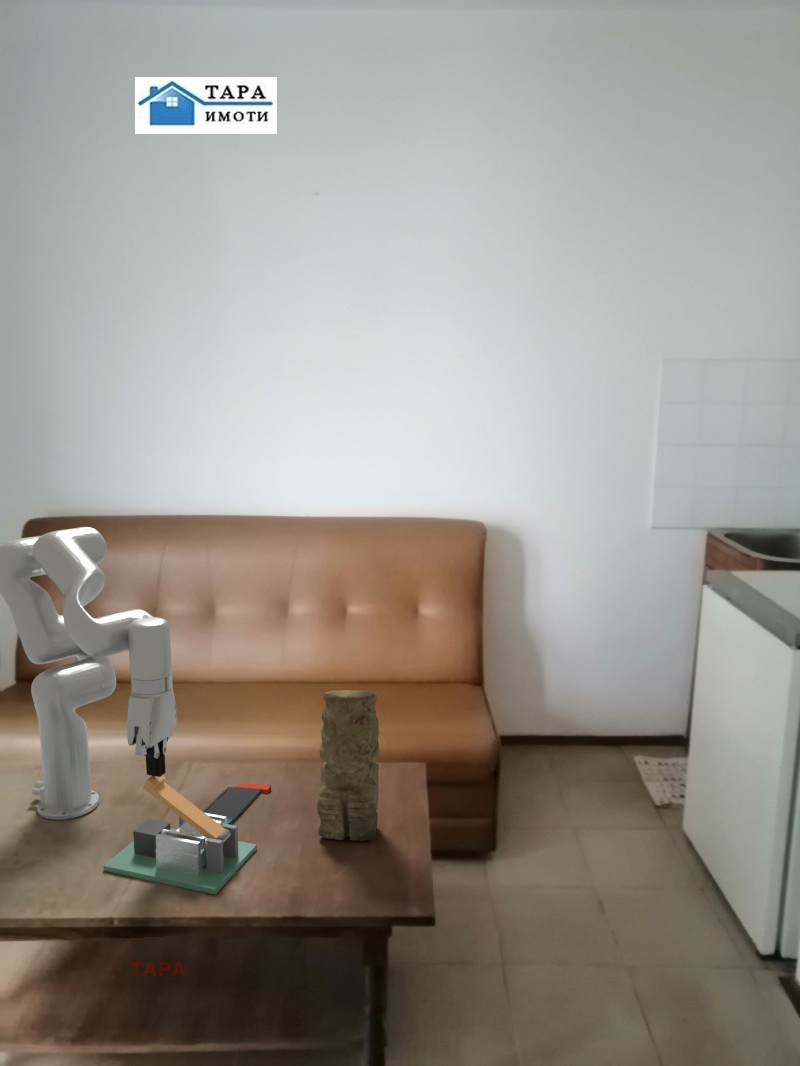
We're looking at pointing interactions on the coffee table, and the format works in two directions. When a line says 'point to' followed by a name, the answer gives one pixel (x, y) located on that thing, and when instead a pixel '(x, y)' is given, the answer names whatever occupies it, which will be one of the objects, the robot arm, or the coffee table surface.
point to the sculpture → (349, 766)
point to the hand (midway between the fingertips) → (156, 774)
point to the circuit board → (142, 864)
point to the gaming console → (236, 800)
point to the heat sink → (184, 848)
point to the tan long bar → (185, 809)
